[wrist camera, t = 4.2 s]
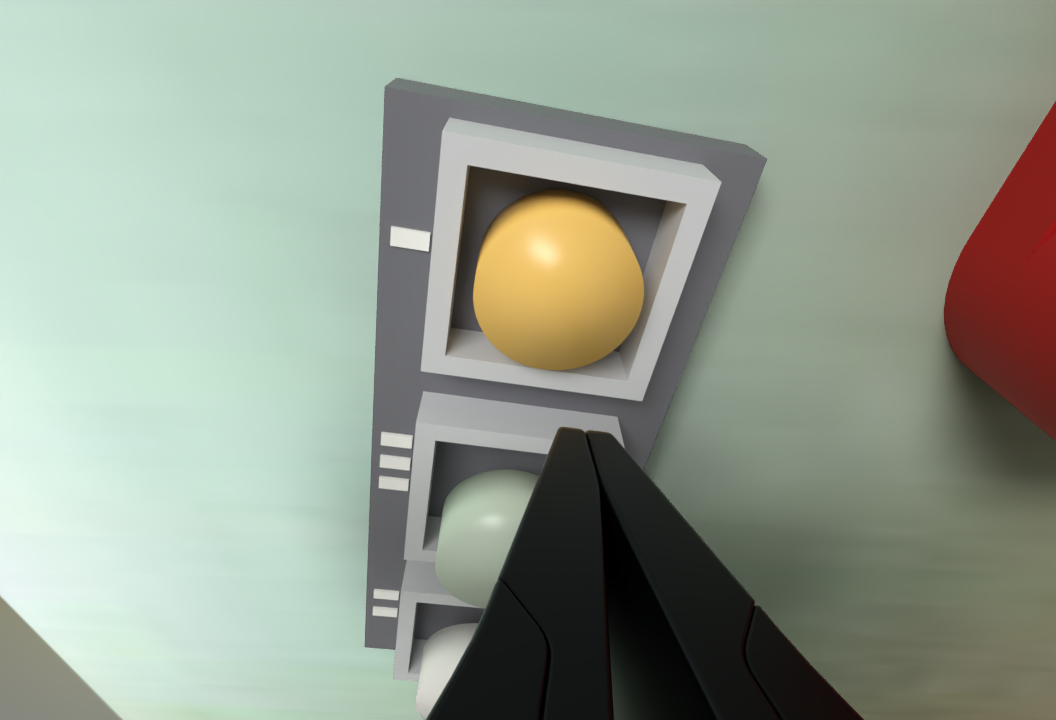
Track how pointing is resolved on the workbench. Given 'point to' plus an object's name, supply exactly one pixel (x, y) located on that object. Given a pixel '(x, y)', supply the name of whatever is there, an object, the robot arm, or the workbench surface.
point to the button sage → (480, 531)
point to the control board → (466, 353)
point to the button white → (440, 663)
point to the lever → (1013, 287)
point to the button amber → (556, 281)
